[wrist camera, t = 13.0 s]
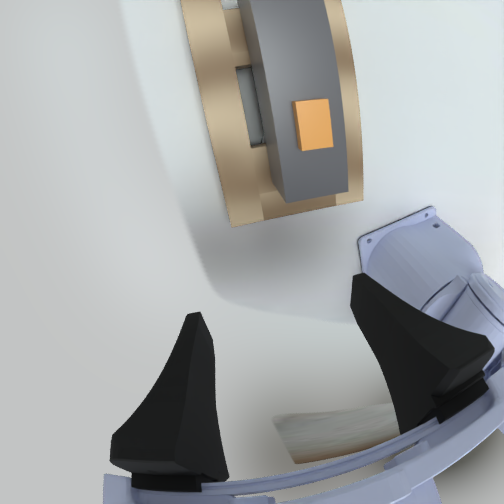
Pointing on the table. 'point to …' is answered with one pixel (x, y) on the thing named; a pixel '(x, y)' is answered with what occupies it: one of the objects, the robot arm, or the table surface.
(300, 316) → the table surface
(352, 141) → the keyhole board
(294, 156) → the grey block
